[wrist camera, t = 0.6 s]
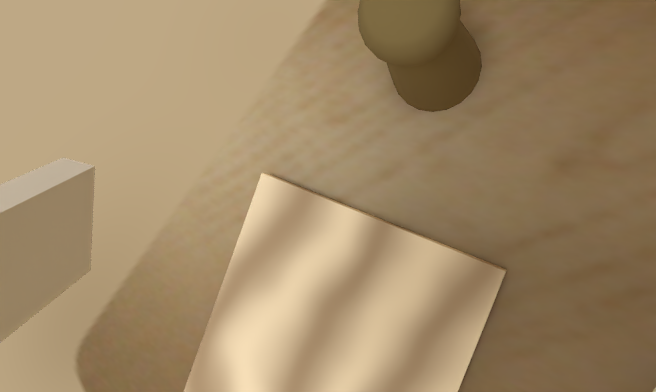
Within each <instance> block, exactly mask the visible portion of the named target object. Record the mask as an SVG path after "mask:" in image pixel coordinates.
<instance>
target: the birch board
mask: <svg viewBox="0 0 656 392" xmlns="http://www.w3.org/2000/svg"><path fill="white" fill-rule="evenodd" d="M506 270H507V269H504V268H502V267H499V266H497V265H494V264H492V263H489V262H487V261H484V260H482V259H479V258H477V257H474V256H472V255H469V254H467V253H464V252H462V251H459V250H457V249H454V248H452V247H449V246H447V245H445V244H442V243H440V242H437V241H435V240H432V239H430V238H427V237H425V236H422V235H420V234H417V233H415V232H412V231H410V230H407V229H405V228H402V227H400V226H397V225H395V224H392V223H390V222H387V221H385V220H382V219H380V218H377V217H375V216H372V215H370V214H367V213H365V212H362V211H360V210H357V209H355V208H352V207H350V206H347V205H345V204H342V203H340V202H338V201H335V200H333V199H330V198H328V197H325V196H323V195H320V194H318V193H315V192H313V191H310V190H308V189H305V188H303V187H300V186H298V185H295V184H293V183H290V182H288V181H285V180H283V179H280V178H278V177H275V176H273V175H269V174H265V173H262V174H261V177H260V180H259V183H258V185H257V188H256V191H255V194H254V197H253V199H252V202H251V205H250V208H249V211H248V213H247V216H246V219H245V222H244V224H243V227H242V230H241V233H240V236H239V238H238V241H237V244H236V247H235V250H234V252H233V255H232V258H231V261H230V264H229V266H228V269H227V272H226V275H225V277H224V280H223V283H222V286H221V289H220V291H219V294H218V297H217V300H216V303H215V305H214V308H213V311H212V314H211V316H210V319H209V322H208V325H207V328H206V330H205V333H204V336H203V339H202V342H201V344H200V347H199V350H198V353H197V356H196V358H195V361H194V364H193V367H192V369H191V372H190V375H189V378H188V381H187V383H186V386H185V389H184V392H458V390H459V387H460V385H461V382H462V380H463V377H464V375H465V372H466V370H467V367H468V365H469V363H470V360H471V358H472V355H473V353H474V350H475V348H476V345H477V343H478V340H479V338H480V335H481V333H482V330H483V328H484V325H485V323H486V320H487V318H488V315H489V313H490V310H491V308H492V305H493V303H494V300H495V298H496V295H497V293H498V290H499V288H500V285H501V283H502V280H503V278H504V275H505V273H506Z"/></svg>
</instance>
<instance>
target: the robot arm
mask: <svg viewBox="0 0 656 392" xmlns="http://www.w3.org/2000/svg"><path fill="white" fill-rule="evenodd" d="M94 175H95V166H92V165H89V164H85V163H81V162H78V161H73V160H71V159H66V158H61V159H59V160H56V161H54V162H52V163H49V164H47V165H45V166H42V167H40V168H38V169H35V170H33V171H31V172H28V173H26V174H24V175H21V176H19V177H17V178H14V179H12V180H10V181H7V182H5V183H3V184H0V342H2V341H3V340H4V339H6V338H7V337H8V336H9V335H10V334H12V333H13V332H14V331H15V330H17V329H18V328H19V327H20V326H22V325H23V324H24V323H25V322H27V321H28V320H29V319H30V318H32V317H33V316H34V315H35V314H37V313H38V312H39V311H40V310H42V309H43V308H44V307H45V306H46V305H48V304H49V303H50V302H51V301H53V300H54V299H55V298H57V297H58V296H59V295H60V294H61V293H63V292H64V291H65V290H66V289H68V288H69V287H70V286H71V285H72V284H74V283H75V282H76V281H77V280H79V279H80V278H81V277H82V276H84V275H85V274H86V273H88V272H89V271H90V269H91V243H92V222H93V198H94ZM653 392H656V387H655V389H654V390H653Z"/></svg>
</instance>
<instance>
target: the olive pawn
mask: <svg viewBox="0 0 656 392" xmlns="http://www.w3.org/2000/svg"><path fill="white" fill-rule="evenodd" d="M460 16H461V9H460V0H360V4H359V8H358V23H359V31H360V33H361V36H362V38H363V40H364V43H365V45H366V46H367V47H368V48H369V49H370V50H371V51H372V52H373V53H374V54H375V55H376V56H377V58H379V59H381V60H383V61H385V62H387V65H388V68H389V71H390V74H391V77H392V80H393V83H394V85H395V87H396V89H397V92H398V94H399V95H400V96H401V97H402V98H403V99H404V100H405V101H406V103H407V104H409V105H411V106H413V107H415V108H417V109H419V110H425V111H431V112H434V111H440V110H447V109H449V108H451V107H453V106H455V105H457V104H459V103H461V102H462V101H463V100H464V99H465V98H466V97H467V96H468V95H469V94H470V93H471V92H472V90H473V89H474V87H475V85H476V84H477V82H478V80H479V76H480V71H481V67H482V65H481V55H480V51H479V49H478V47H477V45H476V43H475V41H474V39H473V38H472V36H471V35H470V34H469V32H468V31H467V30H466V28H465V27H464V25H463V24H462V23H461V21H460Z"/></svg>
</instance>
